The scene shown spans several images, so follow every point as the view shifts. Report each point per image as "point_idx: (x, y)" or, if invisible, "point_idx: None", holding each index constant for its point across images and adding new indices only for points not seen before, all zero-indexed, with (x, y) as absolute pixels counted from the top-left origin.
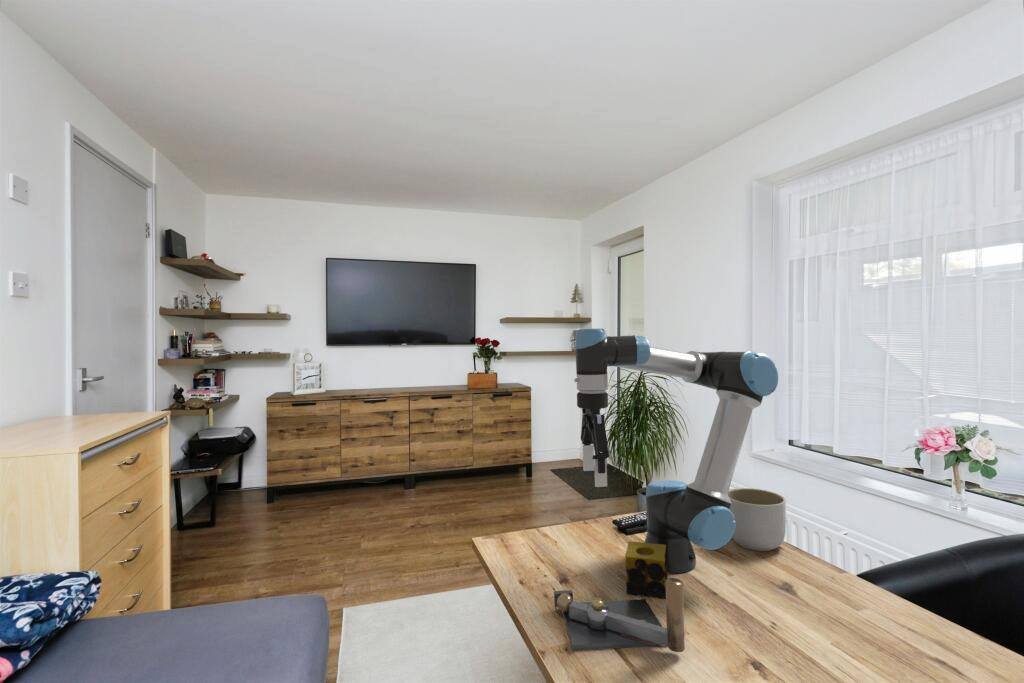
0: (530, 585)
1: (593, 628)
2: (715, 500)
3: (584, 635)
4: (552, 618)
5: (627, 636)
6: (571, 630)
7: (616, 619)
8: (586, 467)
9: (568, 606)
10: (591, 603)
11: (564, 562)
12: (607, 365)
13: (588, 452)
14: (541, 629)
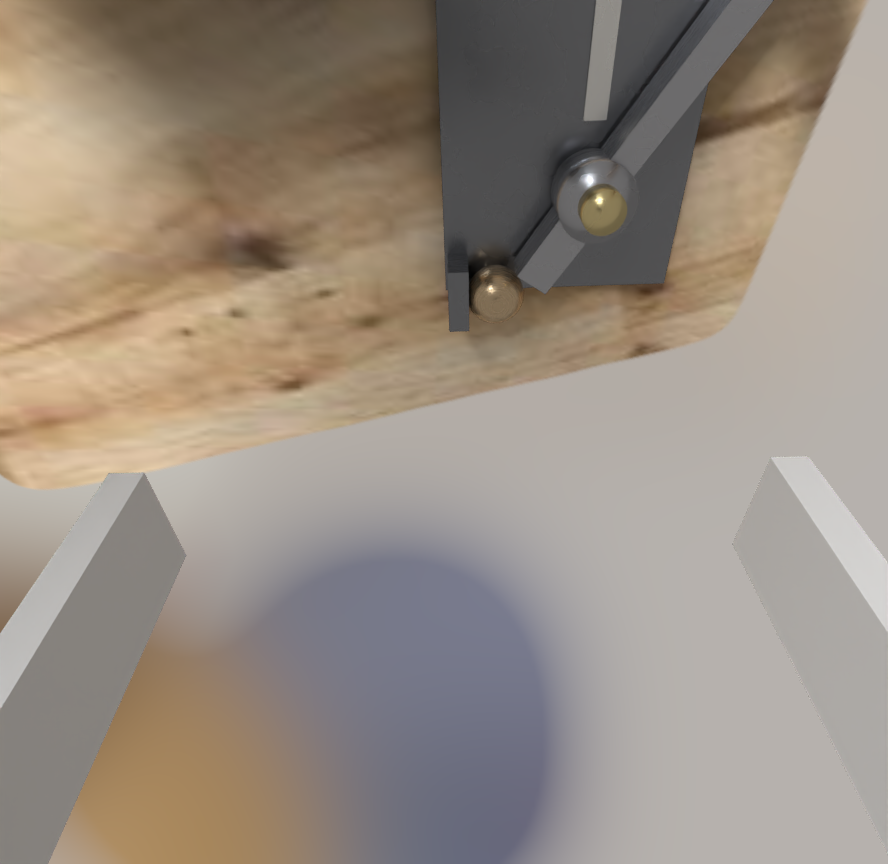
0: (310, 361)
1: None
2: None
3: (629, 241)
4: None
5: None
6: (595, 276)
7: (663, 138)
8: (160, 567)
9: (522, 288)
10: (563, 222)
11: (113, 233)
12: None
13: (52, 742)
14: (545, 345)
